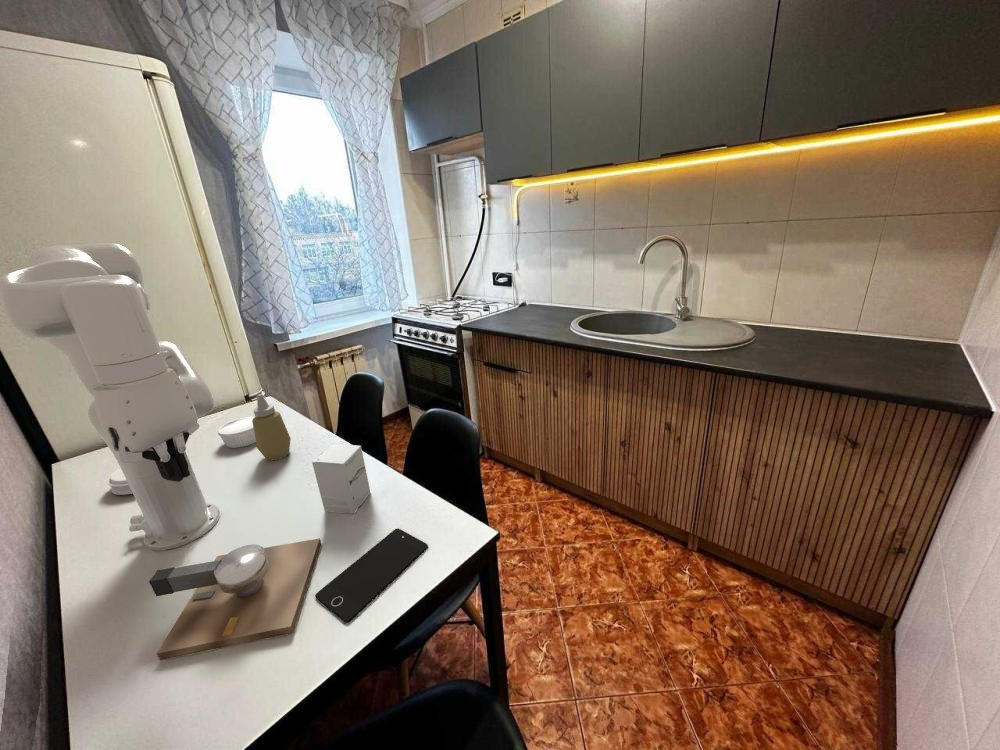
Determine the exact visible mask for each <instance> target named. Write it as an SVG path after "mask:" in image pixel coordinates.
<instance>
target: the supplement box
mask: <svg viewBox="0 0 1000 750" xmlns="http://www.w3.org/2000/svg"><path fill="white" fill-rule="evenodd" d="M311 464H312V468H313V471H314V475H315V479H316V484H317V486H318V490H319V494H320V499H321V502H322V505H323V510H324V512H331V513H338V514H339V513H341V514H350V515H354V514H355V513H356V512H357V510H358V509H359V508H360V506H361V505H362V504H363V502H364V501H365V500H366V498H368V496H369V495H370V494H371V488H370V485H369V484H370V483H369V479H368V474H367V469H366V463H365V459H364V454H363V450H362V446H361V445H355V444H354V445H353V444H336V443H335V444H333V443H332V444H331V445H330V446H328V447H327V448H326V449H325V450H324V451H323V452H322V453H320V455H318V456H317V457H316V458H315V459H314V460H313V461H312V462H311Z"/></svg>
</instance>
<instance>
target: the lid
mask: <svg viewBox="0 0 1000 750" xmlns="http://www.w3.org/2000/svg"><path fill="white" fill-rule="evenodd" d="M106 483H107V485H108V486H110V487H111V488H110V491H111V493H112V494H113V495H119V496H121V495H122V496H124V495H130V494H133V492H132V490H131V488H130V486H129V484H128V482H127V480H126V478H125V476H124V474H123V472H122V470H121V467H120V466H119V468H117V469H115V470H114V471H113V472H112V473H111V475H109V477H107V479H106Z"/></svg>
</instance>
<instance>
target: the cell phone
mask: <svg viewBox="0 0 1000 750" xmlns="http://www.w3.org/2000/svg"><path fill="white" fill-rule="evenodd" d="M428 549H429V545H428V543H426V542H424V541H422V540H421V539H419V538H417V537H415V536H413V535H412V534H409V533H408V532H407V531H404V530H403V529H400V528H395V529H393V530H392V531H391V532H390V533H388V534H387V535H386V536H385V537H383V538H382V539H381V540H379V542H377V543H376V544H375V545H373V547H371V548H370V549H369V550H367V551H366V552H365V553H364V554H363V555H361V556H360V557H359V558H358V559H356V560H355V561H354V562H353V563H352V564H350V565H348V567H347V568H345V569H344V570H343V571H342V572H340V573H339V574H338V575H337V576H336V577H335V578H333V579H332V580H331V581H330V582H328V583H327V584H326V585H324V586H323V587H322V588H320V590H318V591H317V592H316V593H315V594H314V597H315V599H316V600H317V602H319V603H320V604H321V605H322V606H323V607H324V608H326V609H327V610H328V611H330V612H331V613H332V614H334V615H335V616H336V617H337V618H338V619H340V620H341V621H342V622H343V623H344V624H349V623H350V622H352V621H353V620H354V619H355V618H356V617H357V616H358V615H359V614H360V613H361V612H362V611H363V610H365V608H367V607H368V606H369V605H370V603H372V602H373V601H374V600H375V599H376V598H378V596H379V595H380V594H382V593H383V591H384V590H386V589H387V588H388V587H389V586H390V585H391V584H392V583H393V582H394V581H395V580H397V578H398V577H400V575H402V574H403V572H405V571H406V570H407V569H408V568H409V567H410V566H411V565H412V564H413V563H414V562H415V561H416V560H417V559H418V558H420V557H421V556H422V555H423V554H424V553H425V552H426V551H427V550H428Z"/></svg>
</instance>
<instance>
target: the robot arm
mask: <svg viewBox="0 0 1000 750" xmlns="http://www.w3.org/2000/svg"><path fill="white" fill-rule="evenodd" d="M26 266H27V267H24V268H21V269H17V270H14V271H11V272H9V273H6V274H4V275H3V276H1V278H0V303H1V306H2V309H3V311H4V313H5V316H6V317H7V319H8V320H9V323H11V324H12V326H13V327H14V328H15V329H16V330H17V331H18V332H20V333H21V334H23V335H24V336H27V337H29V338H31V339H38V340H39V339H40V340H42V339H44V340H45V341H46V342H48V343H49V344H51V345H52V346H53V347H55V348H56V349H57V350H59V351H60V352H62V353H63V354H64V355H65V356H67V358H68V360H69V361H70V364H71V366H72V367H73V368H74V371H75V372H76V374H77V376H78V377H79V379H80V380H79V381H81V383H82V384H83V386H84V387H85V389H86V390H87V392H88V393H89V394H90V395H92V396H93V401H92V402H91V403H90V405H89V406H88V409H87V415H88V416H87V417H88V418H89V421H90V423H91V425H92V427H93V428H94V429H95V431H96V432H97V433H98V435H99V437H101V439H102V440H103V441H104V442H105V444H106V446H107V447H108V448H109V450H110V451H111V453H112V454H113V457H114V458H115V460H116V462H117V464H118V465H119V468H120V467H121V470H122V472H123V474H124V476H125V478H126V480H127V482H128V484H129V486H130V488H131V490H132V492H133V493H132V494H133V496H134V498H135V500H136V503H137V505H138V507H139V509H140V512H141V513H142V514H138V515H137V514H136V515H132V516H131V517H130V520H129V523H130V526H129V532H138V531H144V537H143V543H144V545H145V547H146V548H147V549H149V550H152V551H167V550H171V549H175V548H179V547H181V546H184V545H186V544H188V543H191V542H193V541H195V540H197V539H198V538H200V537H201V536H203V535H205V534H206V533H207V532H208V531H210V530H211V529H212V528H214V526H215V525H216V524H217V522H218V521H219V519H220V516H221V513H220V509H219V508H218V506H216V504H213V503H207V502H206V500H205V497H204V494H203V492H202V489H201V487H200V485H199V481H198V480H197V477H196V475H195V471H194V469H193V467H192V464H191V462H190V459H189V457H188V455H187V452H186V451H187V447H186V444H187V443H188V439H190V438H189V437H190V436H191V435H193V434H194V433H195V432H197V430H198V429H200V424H199V422H198V421H199V419H201V418H203V417H206V416H207V415H209V414H210V413H211V412H212V410H213V409H214V405H215V404H214V403H215V401H214V396H213V394H212V392H211V389H210V388H209V385H207V383H206V382H205V381H204V379H203V378H202V376H201V375H200V374H199V372H198V370H197V369H196V368H195V366H194V364H192V362H191V361H190V359H189V358H188V357H187V355H186V354H185V352H184V351H182V349H181V348H180V347H179V346H178V345H177V344H175V343H172V342H171V341H167V340H160V341H159V340H158V338H157V336H156V333H155V330H154V328H153V325H152V323H151V320H150V318H149V315H148V311H150V309H151V306H150V301H149V297H148V295H147V293H146V292H145V289H144V275H143V272H142V271H143V270H142V268H141V264H140V263H139V261H138V259H137V258H136V256H135V255H134V254H133V253H132V252H131V250H129V249H128V248H126V247H125V246H123V245H121V244H118V243H115V242H114V243H113V242H102V243H101V242H98V243H82V244H60V245H52V246H51V245H50V246H45V247H41V248H40V249H39V248H38V249H37V250H35V251H34V252H32V254H30V255H29V257H28V259H27V263H26Z"/></svg>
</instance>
